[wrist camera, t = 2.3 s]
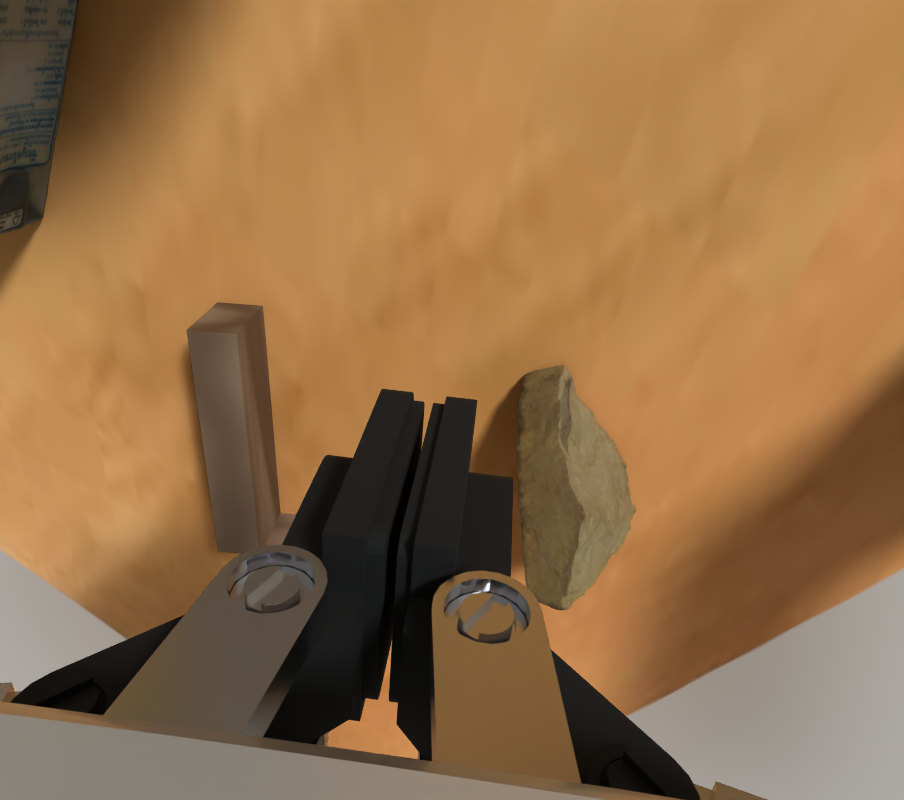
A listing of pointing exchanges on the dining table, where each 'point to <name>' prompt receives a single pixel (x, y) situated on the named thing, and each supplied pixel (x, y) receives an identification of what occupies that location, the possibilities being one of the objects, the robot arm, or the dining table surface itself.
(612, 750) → the robot arm
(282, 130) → the dining table surface
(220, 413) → the corner stop
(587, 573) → the rock
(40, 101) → the beverage carton
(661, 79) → the dining table surface
